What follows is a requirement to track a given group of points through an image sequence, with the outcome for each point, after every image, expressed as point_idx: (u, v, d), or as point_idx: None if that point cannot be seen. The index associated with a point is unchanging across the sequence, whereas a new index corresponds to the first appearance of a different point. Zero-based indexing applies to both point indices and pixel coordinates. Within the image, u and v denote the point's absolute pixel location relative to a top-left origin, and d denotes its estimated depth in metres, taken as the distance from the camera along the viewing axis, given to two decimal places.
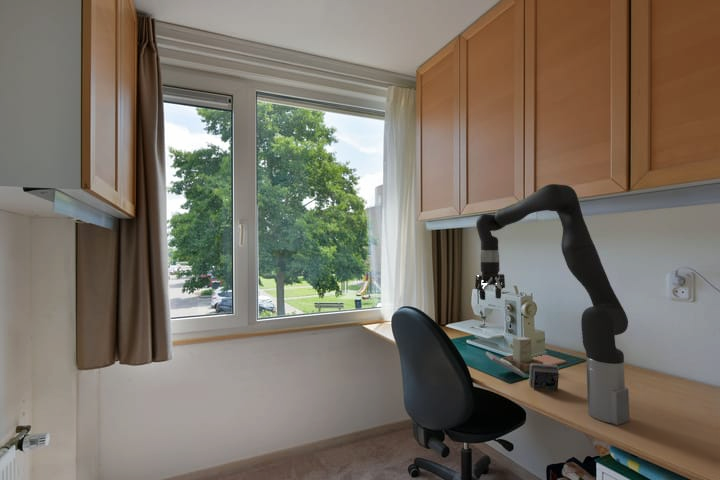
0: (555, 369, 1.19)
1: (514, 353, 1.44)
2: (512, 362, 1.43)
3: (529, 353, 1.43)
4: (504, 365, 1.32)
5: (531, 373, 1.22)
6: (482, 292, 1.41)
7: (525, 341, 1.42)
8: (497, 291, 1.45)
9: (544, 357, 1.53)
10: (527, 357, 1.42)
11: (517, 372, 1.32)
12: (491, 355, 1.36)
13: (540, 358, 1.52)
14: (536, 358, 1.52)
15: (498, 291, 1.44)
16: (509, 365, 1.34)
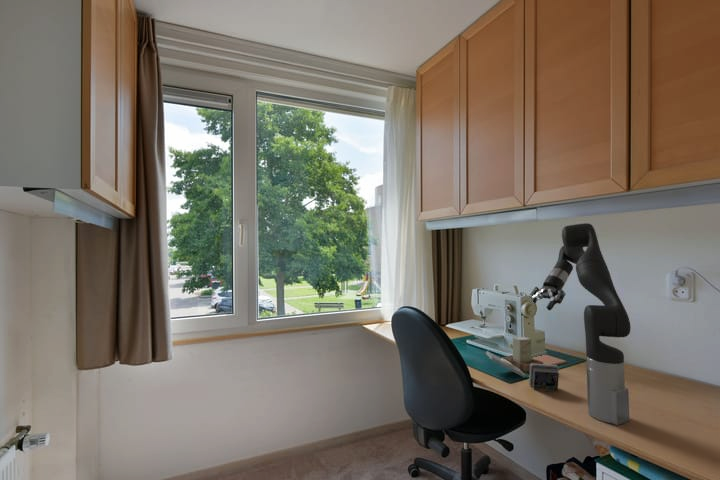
0: (555, 369, 1.19)
1: (514, 353, 1.44)
2: (512, 362, 1.43)
3: (529, 353, 1.43)
4: (503, 365, 1.33)
5: (531, 373, 1.22)
6: (532, 299, 1.55)
7: (525, 341, 1.42)
8: None
9: (544, 357, 1.53)
10: (527, 357, 1.42)
11: (517, 372, 1.32)
12: (491, 355, 1.37)
13: (540, 358, 1.52)
14: (536, 358, 1.52)
15: None
16: (509, 365, 1.34)
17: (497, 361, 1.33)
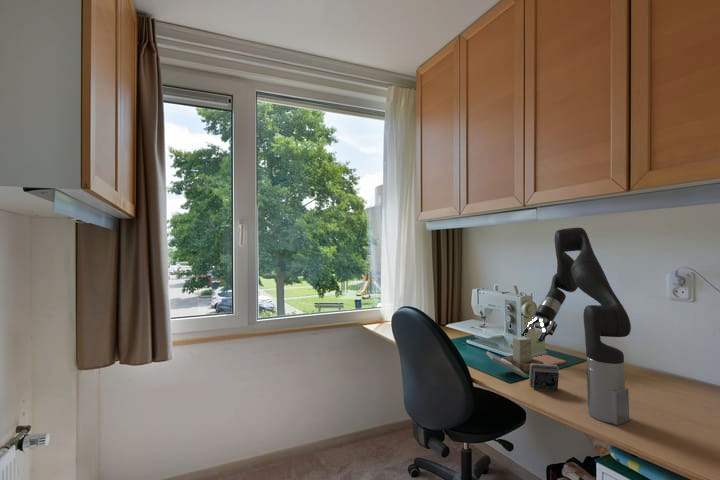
0: (555, 369, 1.19)
1: (514, 353, 1.44)
2: (512, 362, 1.43)
3: (529, 353, 1.43)
4: (504, 365, 1.32)
5: (531, 373, 1.22)
6: None
7: (525, 341, 1.42)
8: None
9: (544, 357, 1.53)
10: (527, 357, 1.42)
11: (517, 372, 1.32)
12: (491, 355, 1.36)
13: (540, 358, 1.52)
14: (536, 358, 1.52)
15: None
16: (509, 365, 1.34)
17: (498, 361, 1.33)
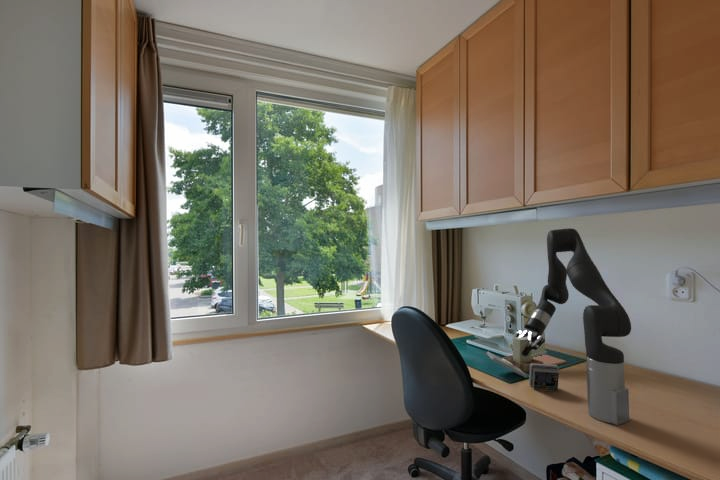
0: (555, 369, 1.19)
1: (514, 353, 1.44)
2: (512, 362, 1.43)
3: (529, 353, 1.43)
4: (505, 365, 1.32)
5: (531, 373, 1.22)
6: None
7: (525, 341, 1.42)
8: None
9: (544, 357, 1.53)
10: (527, 357, 1.42)
11: (518, 372, 1.32)
12: (492, 355, 1.36)
13: (540, 358, 1.52)
14: (536, 358, 1.52)
15: None
16: (510, 365, 1.34)
17: (498, 361, 1.32)
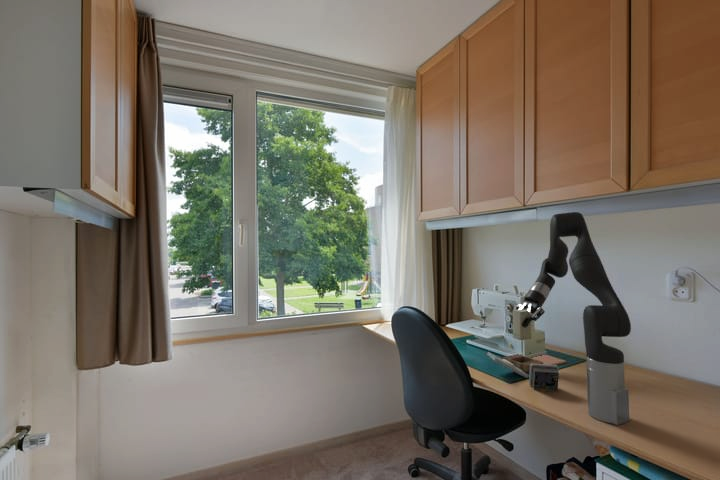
0: (555, 369, 1.19)
1: (514, 325, 1.45)
2: (512, 362, 1.43)
3: (529, 325, 1.43)
4: (506, 365, 1.32)
5: (531, 373, 1.22)
6: None
7: (525, 313, 1.43)
8: None
9: (544, 357, 1.53)
10: (527, 328, 1.43)
11: (519, 372, 1.31)
12: (493, 356, 1.35)
13: (540, 358, 1.52)
14: (536, 358, 1.52)
15: None
16: (511, 365, 1.33)
17: (500, 362, 1.32)
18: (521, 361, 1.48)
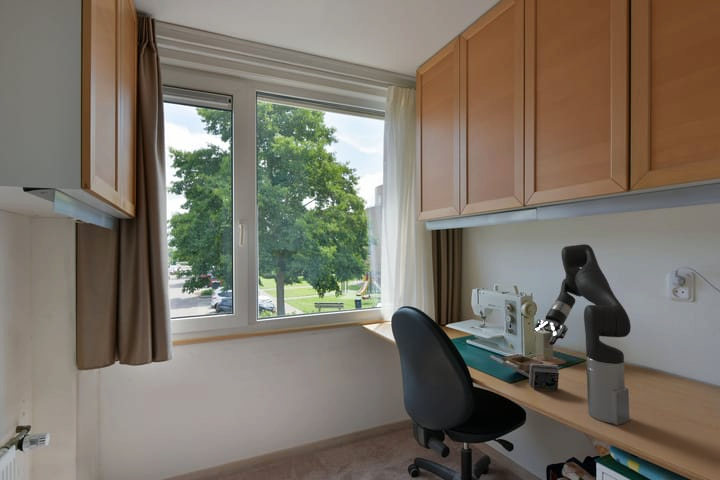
0: (555, 369, 1.19)
1: (537, 346, 1.51)
2: (512, 362, 1.43)
3: (551, 345, 1.50)
4: (514, 368, 1.29)
5: (531, 373, 1.22)
6: None
7: (548, 334, 1.50)
8: None
9: None
10: (549, 349, 1.50)
11: (525, 374, 1.30)
12: None
13: None
14: (536, 358, 1.52)
15: None
16: (516, 367, 1.31)
17: (508, 365, 1.29)
18: (521, 361, 1.48)
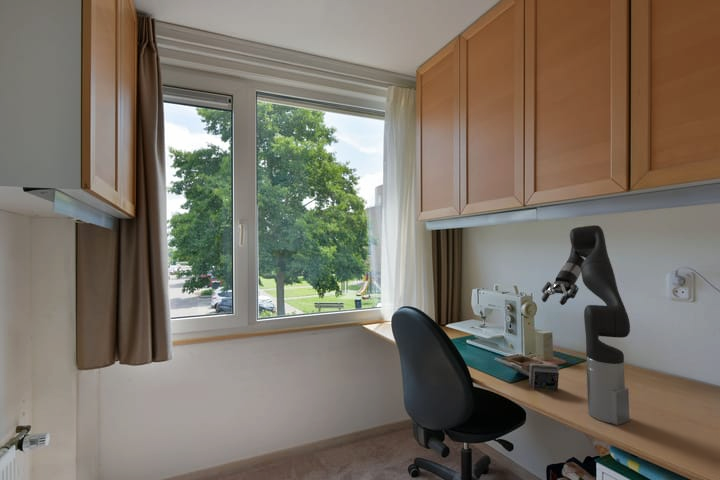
0: (555, 369, 1.19)
1: (537, 346, 1.51)
2: (512, 362, 1.43)
3: (551, 345, 1.50)
4: (521, 369, 1.27)
5: (531, 373, 1.22)
6: None
7: (548, 334, 1.50)
8: None
9: None
10: (549, 349, 1.50)
11: None
12: (505, 361, 1.29)
13: None
14: (536, 358, 1.52)
15: None
16: (521, 368, 1.30)
17: (516, 367, 1.26)
18: (521, 361, 1.48)
